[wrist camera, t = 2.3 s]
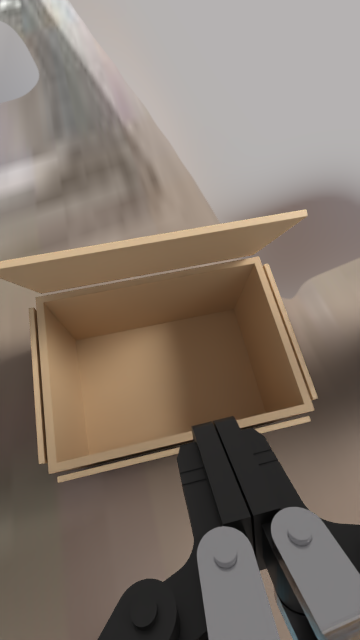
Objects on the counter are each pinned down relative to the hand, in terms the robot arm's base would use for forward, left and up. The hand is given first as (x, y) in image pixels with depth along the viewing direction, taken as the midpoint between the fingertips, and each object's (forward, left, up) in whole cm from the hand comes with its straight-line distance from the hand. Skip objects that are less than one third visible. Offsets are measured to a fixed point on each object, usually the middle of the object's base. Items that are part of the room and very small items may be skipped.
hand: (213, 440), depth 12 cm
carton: (-2, -7, -25) cm, 26 cm away
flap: (-4, -14, -13) cm, 20 cm away
